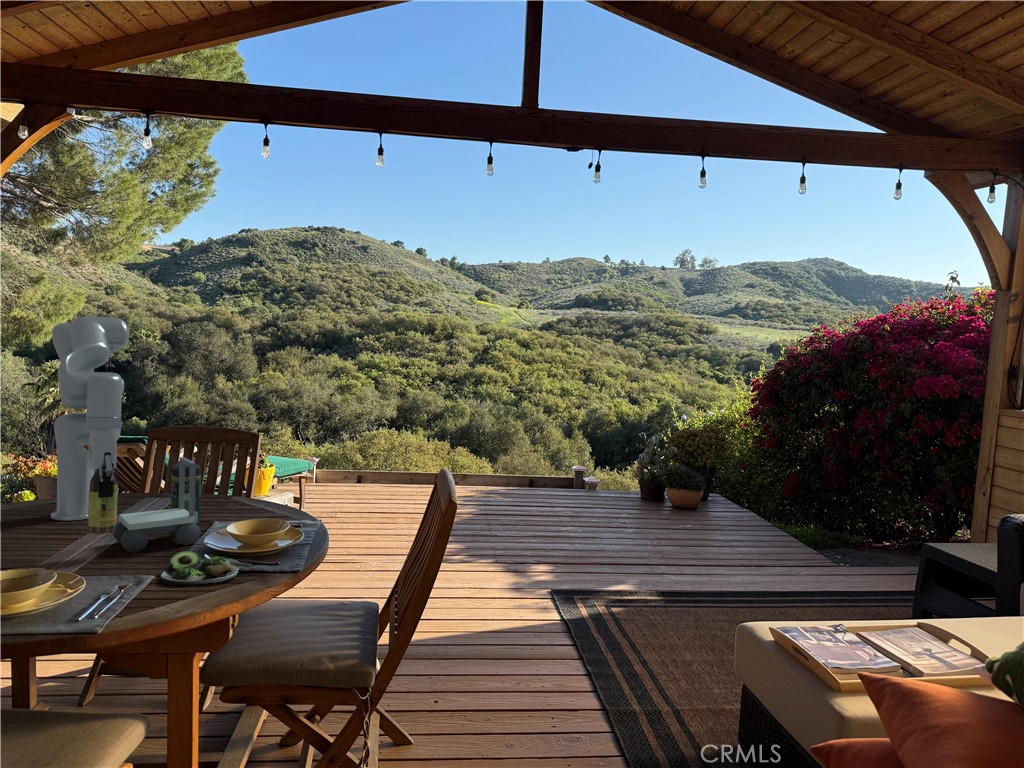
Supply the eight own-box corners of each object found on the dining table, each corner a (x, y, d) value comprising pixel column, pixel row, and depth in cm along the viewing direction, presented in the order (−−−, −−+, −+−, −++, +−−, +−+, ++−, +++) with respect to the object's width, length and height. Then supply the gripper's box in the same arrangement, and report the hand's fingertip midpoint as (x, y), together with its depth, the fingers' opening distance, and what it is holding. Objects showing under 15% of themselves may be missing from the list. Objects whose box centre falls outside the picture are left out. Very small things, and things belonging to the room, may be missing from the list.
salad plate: (256, 562, 177) (257, 544, 177) (245, 585, 159) (246, 566, 159) (174, 564, 173) (174, 546, 172) (154, 588, 155) (154, 568, 155)
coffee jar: (168, 521, 212) (169, 460, 211) (196, 518, 216) (197, 459, 215) (173, 528, 204) (174, 465, 203) (202, 525, 208) (203, 464, 207)
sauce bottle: (103, 536, 172) (104, 456, 171) (81, 533, 173) (82, 454, 172) (123, 529, 178) (124, 452, 177) (102, 527, 179) (103, 450, 178)
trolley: (112, 543, 187) (113, 461, 186) (187, 533, 199) (189, 456, 198) (122, 554, 178) (123, 468, 177) (200, 543, 190) (201, 462, 189)
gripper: (80, 420, 178) (79, 490, 179) (92, 427, 165) (92, 502, 166) (113, 419, 183) (112, 487, 184) (128, 426, 170) (127, 499, 171)
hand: (103, 493), depth 175 cm, fingers closed on sauce bottle, 6 cm apart
